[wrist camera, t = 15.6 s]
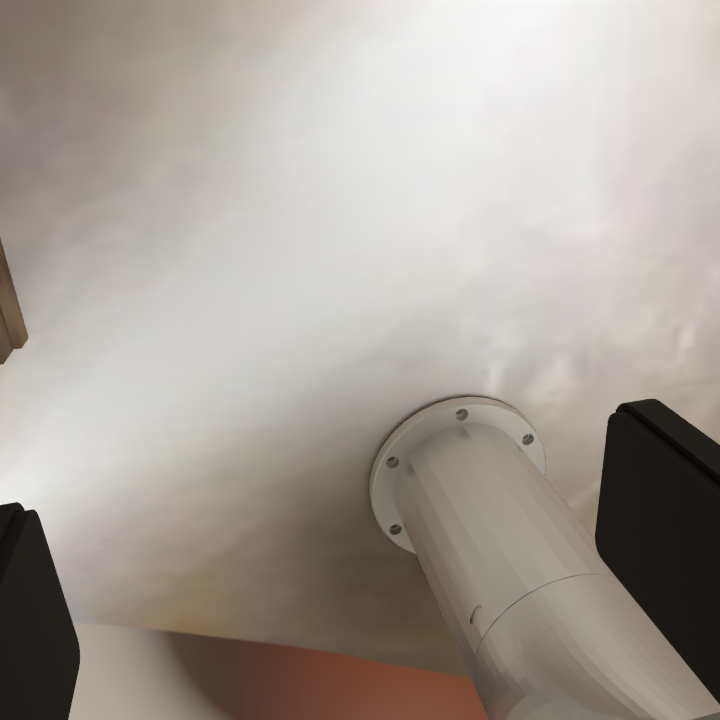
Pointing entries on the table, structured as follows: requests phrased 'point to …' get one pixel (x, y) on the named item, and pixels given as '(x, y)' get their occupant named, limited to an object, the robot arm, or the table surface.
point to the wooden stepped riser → (9, 314)
